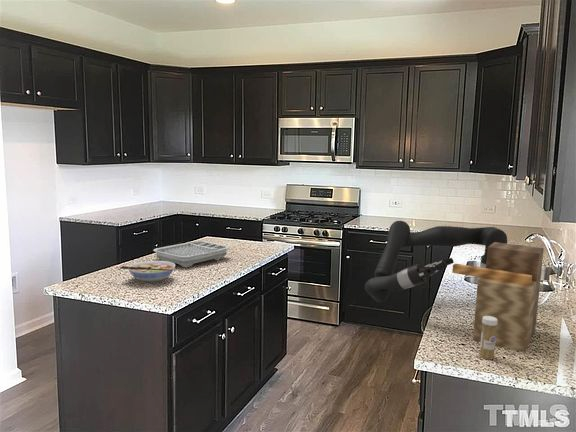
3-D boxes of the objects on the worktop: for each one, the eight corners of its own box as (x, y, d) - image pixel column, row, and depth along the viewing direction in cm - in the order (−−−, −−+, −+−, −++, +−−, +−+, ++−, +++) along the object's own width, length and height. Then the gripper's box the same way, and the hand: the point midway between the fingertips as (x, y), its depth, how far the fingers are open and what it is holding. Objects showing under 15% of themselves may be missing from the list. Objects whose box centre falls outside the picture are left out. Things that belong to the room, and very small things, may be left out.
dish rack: (149, 261, 272) (148, 247, 271) (199, 251, 300) (199, 239, 299) (183, 271, 252) (183, 256, 251) (233, 260, 280) (233, 246, 279)
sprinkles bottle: (488, 361, 152) (492, 321, 150) (476, 355, 156) (479, 316, 154) (497, 358, 155) (500, 318, 153) (484, 352, 159) (488, 314, 157)
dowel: (452, 272, 175) (452, 265, 175) (454, 271, 178) (455, 263, 177) (530, 285, 161) (530, 277, 160) (531, 283, 163) (532, 275, 163)
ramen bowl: (184, 275, 243) (184, 260, 242) (168, 288, 220) (168, 271, 219) (137, 273, 246) (137, 258, 244) (117, 286, 223) (116, 269, 222)
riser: (472, 339, 169) (480, 252, 165) (487, 320, 189) (494, 242, 184) (525, 352, 160) (534, 259, 155) (535, 330, 179) (543, 248, 175)
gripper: (400, 271, 181) (439, 256, 172) (413, 264, 192) (450, 249, 183) (409, 289, 180) (448, 275, 171) (421, 281, 191) (459, 267, 182)
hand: (449, 262), depth 177 cm, fingers open, 8 cm apart
